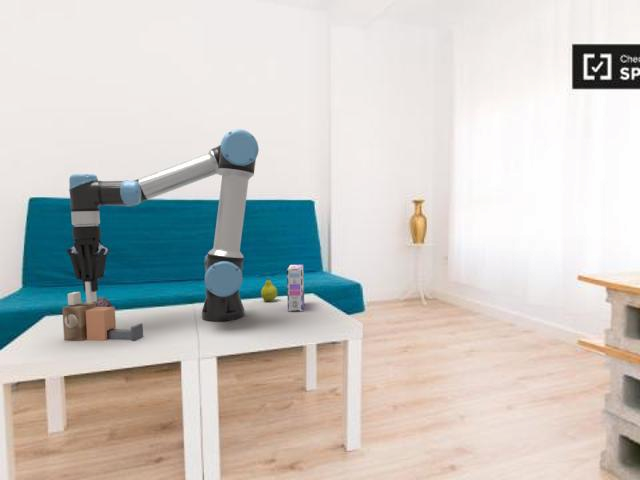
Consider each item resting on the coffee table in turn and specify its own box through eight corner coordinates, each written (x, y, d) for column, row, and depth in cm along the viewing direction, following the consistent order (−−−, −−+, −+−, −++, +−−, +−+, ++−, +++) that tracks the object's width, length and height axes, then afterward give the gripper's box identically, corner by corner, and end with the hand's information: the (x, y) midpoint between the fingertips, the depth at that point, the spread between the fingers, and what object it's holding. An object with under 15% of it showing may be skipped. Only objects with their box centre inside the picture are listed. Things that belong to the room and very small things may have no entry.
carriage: (116, 335, 130) (114, 306, 129) (105, 340, 125) (103, 310, 124) (98, 334, 131) (97, 306, 130) (87, 339, 126) (85, 310, 125)
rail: (143, 336, 128) (142, 323, 128) (134, 340, 124) (134, 327, 123) (92, 334, 131) (91, 322, 130) (82, 339, 126) (81, 326, 126)
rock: (77, 332, 139) (109, 329, 141) (73, 308, 137) (106, 305, 139) (88, 318, 150) (118, 315, 152) (85, 296, 148) (115, 293, 150)
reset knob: (81, 303, 130) (80, 292, 129) (74, 305, 127) (73, 294, 127) (75, 303, 130) (74, 292, 130) (68, 305, 127) (67, 293, 127)
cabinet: (97, 333, 132) (96, 302, 131) (80, 341, 124) (78, 307, 123) (80, 333, 133) (79, 301, 132) (62, 340, 125) (60, 307, 124)
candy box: (303, 311, 156) (302, 268, 155) (287, 312, 156) (286, 268, 155) (304, 303, 170) (303, 263, 169) (290, 304, 170) (289, 264, 169)
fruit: (279, 299, 179) (278, 271, 179) (275, 302, 173) (275, 274, 172) (263, 299, 180) (262, 272, 179) (259, 302, 173) (258, 274, 172)
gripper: (113, 224, 129) (118, 299, 130) (76, 225, 131) (81, 299, 132) (97, 225, 121) (102, 304, 123) (57, 226, 123) (63, 304, 125)
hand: (91, 301), depth 128 cm, fingers closed
